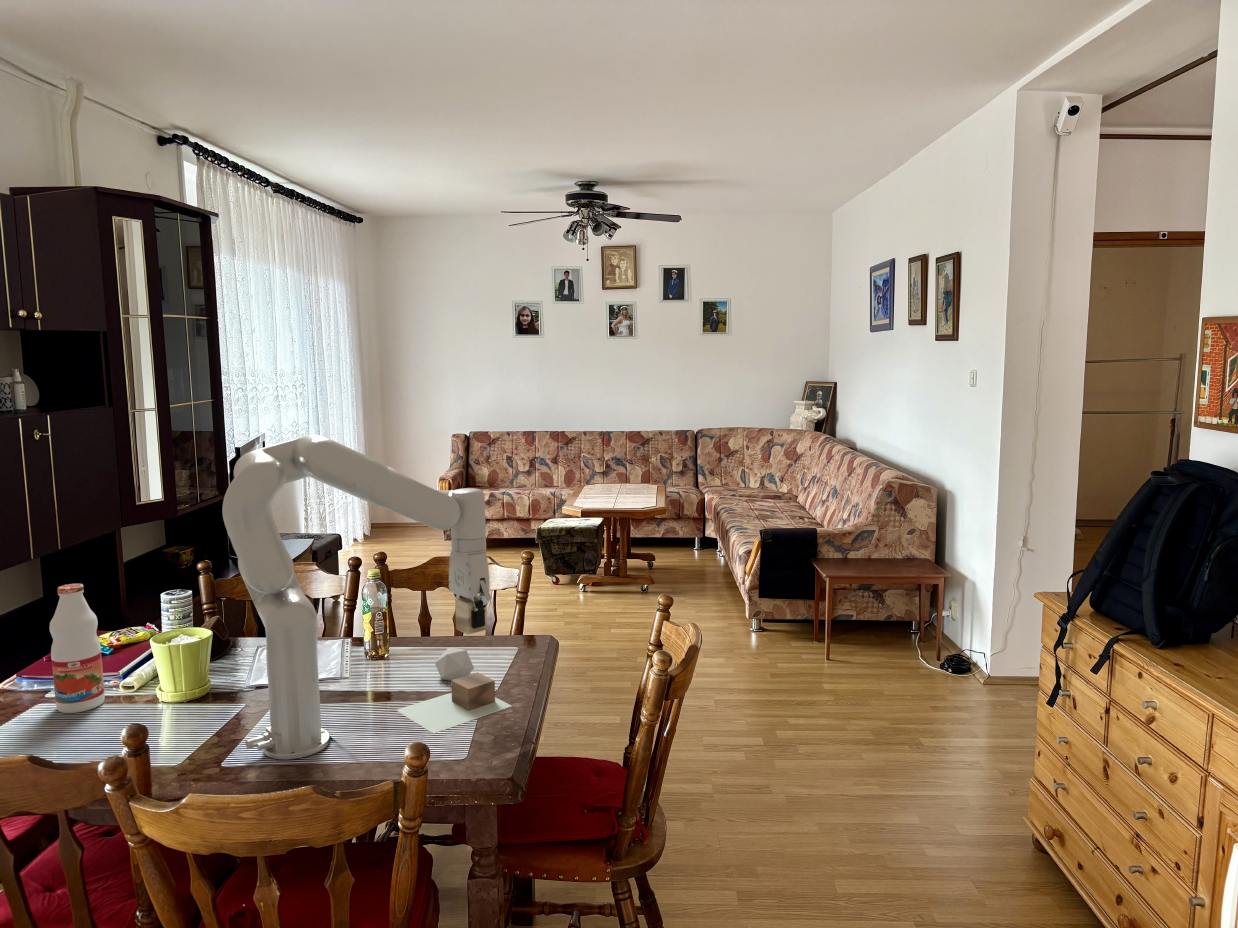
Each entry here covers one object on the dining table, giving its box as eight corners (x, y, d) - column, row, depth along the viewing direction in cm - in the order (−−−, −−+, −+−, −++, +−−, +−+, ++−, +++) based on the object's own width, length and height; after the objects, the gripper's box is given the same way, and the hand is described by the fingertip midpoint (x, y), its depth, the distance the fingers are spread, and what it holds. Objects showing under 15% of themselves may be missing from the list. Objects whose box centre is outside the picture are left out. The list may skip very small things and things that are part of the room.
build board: (433, 737, 172) (433, 733, 172) (396, 714, 183) (395, 709, 183) (512, 710, 185) (512, 705, 185) (472, 689, 197) (472, 685, 197)
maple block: (468, 634, 182) (467, 603, 181) (456, 629, 186) (455, 598, 185) (487, 629, 185) (486, 598, 184) (475, 624, 189) (474, 594, 188)
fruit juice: (109, 694, 195) (99, 578, 191) (99, 710, 186) (89, 589, 183) (62, 700, 192) (52, 582, 188) (50, 716, 183) (39, 593, 179)
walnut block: (468, 710, 183) (468, 688, 182) (451, 701, 188) (451, 680, 187) (495, 701, 187) (494, 680, 187) (478, 692, 192) (477, 672, 192)
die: (480, 680, 205) (468, 643, 208) (471, 675, 197) (459, 637, 200) (449, 692, 204) (438, 656, 208) (439, 688, 196) (427, 650, 200)
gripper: (434, 541, 187) (436, 619, 189) (475, 553, 174) (478, 637, 176) (462, 536, 192) (465, 612, 194) (505, 547, 179) (507, 629, 182)
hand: (471, 623), depth 185 cm, fingers closed on maple block, 5 cm apart
